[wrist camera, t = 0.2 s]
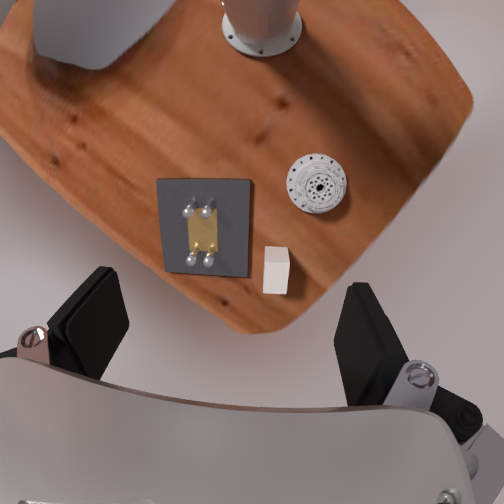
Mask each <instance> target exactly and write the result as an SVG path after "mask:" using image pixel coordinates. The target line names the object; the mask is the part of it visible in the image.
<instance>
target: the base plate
mask: <svg viewBox="0 0 504 504" xmlns="http://www.w3.org/2000/svg"><path fill="white" fill-rule="evenodd" d="M156 183H157V198H158V210H159V221H160V232H161V241H162V250H163V258H164V265H165V272H175V273H189V274H204V275H219V276H236V277H247V276H248V245H249V211H250V179H229V178H162V179H157V180H156Z"/></svg>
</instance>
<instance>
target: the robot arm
mask: <svg viewBox="0 0 504 504" xmlns="http://www.w3.org/2000/svg"><path fill="white" fill-rule="evenodd" d="M220 1H221V3H222V5H223V8H224V10H225V14H224V17H223V20H222V31H223V34H224V36H225V38H226V40H227V41H228V43H229V44H230V45H231V46H232V47H233V48H234V49H236V50H238V51H239V52H241V53H243V54H246V55H249V56H254V57H272V56H276V55H279V54H281V53H284V52H286V51H287V50H289V49H290V48H291V47H293V46H294V45H295V44H296V42H297V41H298V39H299V37H300V35H301V31H302V21H301V17H300V15H299V13H298V11H297V8H298V4H299V1H300V0H220ZM231 37H232V38H233V39H230V38H231ZM291 39H293V41H291ZM260 52H263V53H262V54H260ZM47 325H48V327H49V330H48V331H46V329H45V328H43V327H41V326H35V327H31V328H28V329H27V330H25V331H24V332H23V333H22V334H21V335H20V337H19V339H18V344H17V347H16V348H13V349H10V350H8V351H5V352H2V353H0V504H492V503H493V502H494V500H495V499H496V497H497V496H498V494H499V493H500V491H501V489H502V488H503V486H504V439H503V438H502V437H501V436H500V435H499V434H498V433H497V432H496V431H494V429H492V428H491V427H490V426H489V425H488V424H486V425H485V426H484V425H483V424H482V423H483V418H482V414H481V411H480V410H479V408H478V407H477V406H476V405H474V404H473V403H471V402H469V401H467V400H465V399H463V398H461V397H459V396H457V395H455V394H454V393H452V392H450V391H448V390H446V389H444V388H442V387H440V386H438V383H439V377H438V373H437V372H436V370H435V369H434V368H433V367H432V366H431V365H430V364H428V363H427V362H424V361H421V360H412V361H409V359H408V357H407V355H406V353H405V351H404V349H403V346H402V345H401V342H400V340H399V338H398V337H397V334H396V332H395V330H394V328H393V326H392V324H391V322H390V320H389V319H388V317H387V316H386V315H385V313H384V311H383V309H382V307H381V306H380V304H379V302H378V300H377V298H376V296H375V294H374V293H373V291H372V289H371V287H370V285H369V284H368V283H362V282H354V283H353V284H352V286H349V287H348V288H347V292H346V297H345V300H344V304H343V308H342V312H341V315H340V319H339V323H338V326H337V330H336V333H335V337H334V347H335V351H336V355H337V360H338V363H339V368H340V372H341V377H342V381H343V386H344V391H345V395H346V399H347V405H348V407H328V408H269V407H248V406H236V405H225V404H216V403H207V402H200V401H192V400H186V399H180V398H174V397H168V396H162V395H157V394H152V393H148V392H143V391H139V390H134V389H130V388H126V387H122V386H118V385H114V384H110V383H107V382H103V381H100V379H101V377H102V375H103V373H104V371H105V369H106V368H107V366H108V364H109V362H110V360H111V359H112V357H113V355H114V353H115V351H116V350H117V348H118V346H119V344H120V343H121V341H122V339H123V337H124V336H125V334H126V332H127V330H128V328H129V319H128V316H127V312H126V309H125V305H124V301H123V297H122V293H121V289H120V284H119V280H118V275H117V273H116V271H114V269H113V268H111V267H103V266H100V267H99V268H97V269H96V270H95V271H94V272H93V273H92V274H91V275H90V276H89V277H88V278H87V279H86V280H85V281H84V283H82V284H81V285H80V287H79V288H78V289H77V290H76V291H75V292H74V293H73V294H72V295H71V296H70V297H69V298H68V300H67V301H66V302H65V303H64V304H63V305H62V306H61V307H60V308H59V309H58V311H57V312H56V313H55V314H54V315H53V316H52V317H51V318H50V320H49V321H48V322H47Z"/></svg>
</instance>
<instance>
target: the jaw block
mask: <svg viewBox="0 0 504 504" xmlns="http://www.w3.org/2000/svg"><path fill="white" fill-rule="evenodd" d="M289 267H290V260H289V254H288V247H270V246H265V260H264V278H263V293H273V294H286V293H287V285H288V276H289Z"/></svg>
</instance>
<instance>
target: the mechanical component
mask: <svg viewBox="0 0 504 504" xmlns="http://www.w3.org/2000/svg"><path fill="white" fill-rule="evenodd" d="M310 157H312V159H310ZM321 157H322V158H321ZM301 161H302V163H300V162H301ZM330 161H332V163H330ZM294 168H295V171H293V169H294ZM329 175H330V176H329ZM317 177H318V178H317ZM342 177H343V179H342ZM290 179H291V180H290ZM310 181H312V182H311V183H310ZM318 184H320V186H319V187H317V185H318ZM322 185H323V187H322ZM346 185H347V182H346V176H345V173H344V171H343V169H342V167H341V166H340V165H339V164H338V163H337V162H336V161H335V160H334V159H332V158H330V157H329V156H326V155H323V154H310V155H305V156H303V157H302V158H300V159H298V160H297V161H296V162H295V163H294V164H293V165H292V166H291V168H290V170H289V172H288V175H287V190H288V193H289V196H290V198H291V200H292V201H293V203H294V204H295V205H296V206H297V207H299V208H300V209H302V210H303V211H306V212H310V213H324V212H327V211H329V210H331V209H333V208H334V207H336V206H337V205H338V204H339V203H340V201H341V200H342V199H343V197H344V194H345V192H346ZM320 187H322V188H323V190H321V191H318V190H317V189H320ZM290 189H292V190H290ZM309 190H310V191H309ZM302 205H304V206H302Z"/></svg>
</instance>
